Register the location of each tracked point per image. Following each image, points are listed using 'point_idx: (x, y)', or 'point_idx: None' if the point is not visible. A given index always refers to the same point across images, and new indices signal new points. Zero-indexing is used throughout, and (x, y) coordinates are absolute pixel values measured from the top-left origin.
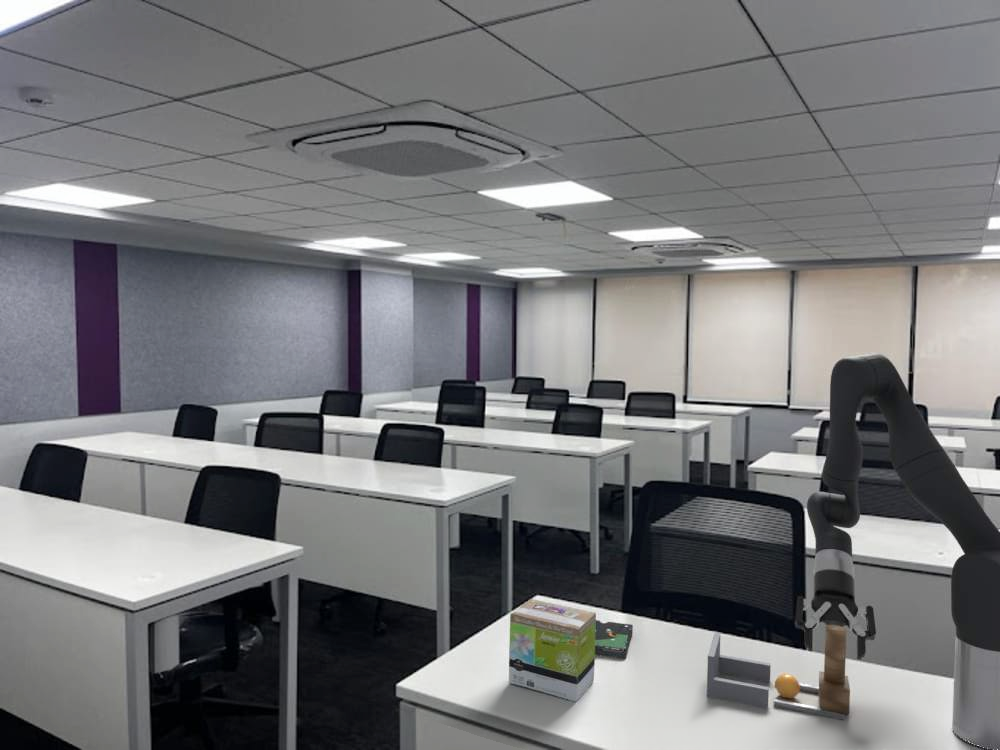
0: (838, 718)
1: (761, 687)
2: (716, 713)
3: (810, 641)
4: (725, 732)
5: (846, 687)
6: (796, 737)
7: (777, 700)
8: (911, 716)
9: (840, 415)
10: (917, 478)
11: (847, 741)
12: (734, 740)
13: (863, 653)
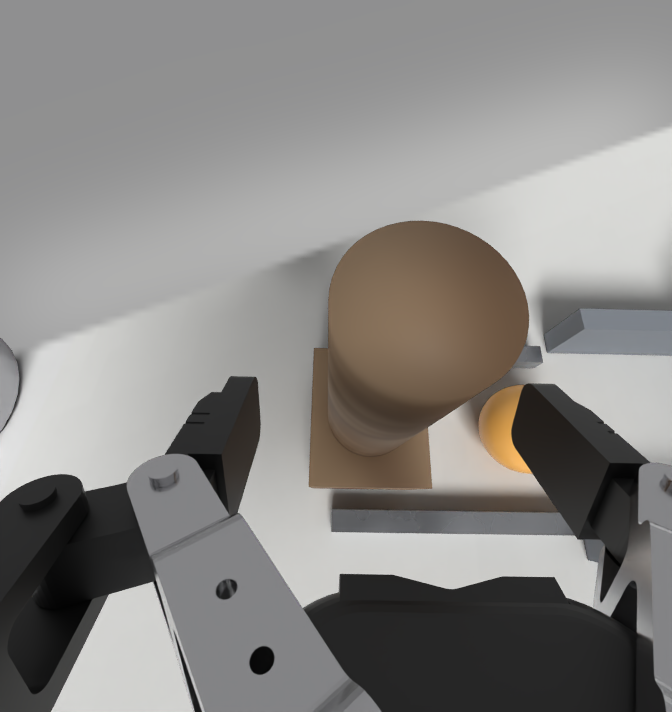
0: None
1: (605, 317)
2: (654, 256)
3: (558, 396)
4: (602, 185)
5: (325, 360)
6: (451, 219)
7: (531, 354)
8: (113, 461)
9: None
10: None
11: (334, 244)
12: (574, 164)
13: (217, 393)
